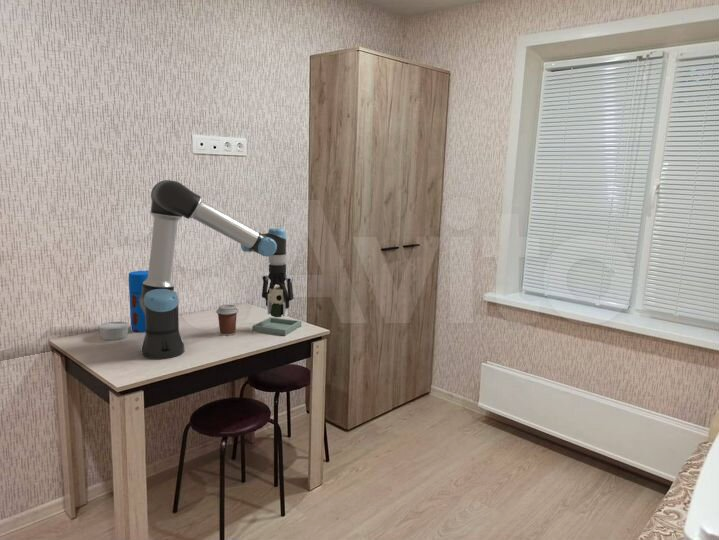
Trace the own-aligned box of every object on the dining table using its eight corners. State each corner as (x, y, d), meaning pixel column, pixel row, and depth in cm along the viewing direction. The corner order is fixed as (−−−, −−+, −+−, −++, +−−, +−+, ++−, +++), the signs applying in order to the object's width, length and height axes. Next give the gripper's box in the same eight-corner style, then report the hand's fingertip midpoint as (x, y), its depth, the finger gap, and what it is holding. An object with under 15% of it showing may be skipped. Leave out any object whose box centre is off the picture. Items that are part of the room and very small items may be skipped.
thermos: (125, 331, 221) (122, 273, 216) (142, 324, 231) (140, 269, 226) (146, 333, 217) (144, 275, 213) (163, 327, 228) (161, 271, 223)
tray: (285, 335, 220) (285, 330, 220) (252, 331, 225) (252, 325, 225) (301, 326, 235) (301, 320, 235) (270, 322, 240) (270, 317, 240)
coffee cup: (217, 337, 215) (216, 309, 213) (216, 331, 224) (215, 304, 222) (239, 335, 218) (239, 308, 216) (237, 329, 227) (237, 303, 225)
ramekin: (130, 332, 219) (129, 320, 218) (128, 340, 209) (127, 327, 208) (101, 334, 215) (100, 322, 214) (97, 342, 205) (96, 329, 204)
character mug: (273, 320, 223) (273, 291, 221) (262, 317, 227) (262, 288, 225) (292, 315, 231) (292, 287, 229) (281, 313, 236) (281, 285, 233)
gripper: (301, 264, 225) (301, 314, 229) (261, 260, 232) (261, 310, 236) (294, 266, 218) (294, 318, 222) (252, 263, 225) (253, 314, 229)
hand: (277, 314), depth 229 cm, fingers closed on character mug, 7 cm apart
